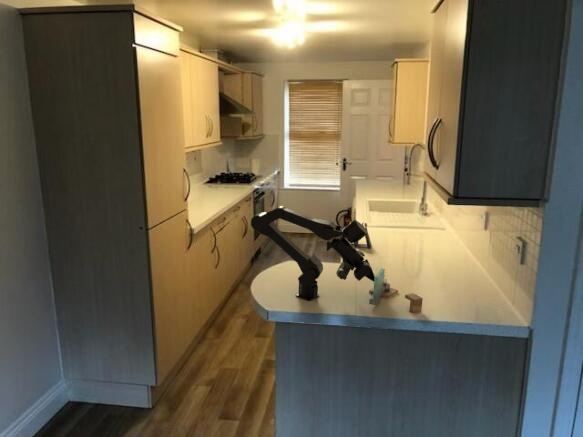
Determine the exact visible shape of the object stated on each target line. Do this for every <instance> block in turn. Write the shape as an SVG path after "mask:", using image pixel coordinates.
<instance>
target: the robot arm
mask: <svg viewBox="0 0 583 437" xmlns="http://www.w3.org/2000/svg"><path fill="white" fill-rule="evenodd" d="M279 219H280V220H284V221H286V222H288V223H291V224H293V225H296V226H298V227H301V228H303V229H307V230H308V231H310V232H312V233H313V234H314V235H315V236H317V237H319V239H322V240H323V241H325V242H326V243H325V245H326V251H331V249H333V251H335V252H336V254H338V256H340V258H341V260H342V261H341V263H340V265H339V267H338V268H337V270H336V276H337V278H339V279H340V280H344V281H345V280H347V278H348V275H349V274H350V272H351V271H353V276H354V278H355V279H357V281H359V282H360V281H361V280H362V279H364V278H367V279H369V280H370V281H372V282H373V283H374V277H375V273H374V272H373V268H372V266H371V264H370V262H369V260H368V259H365V258H364V257H366V255H365V253H364V252H363V251H362V250H357V249H356V247H354V245H352V244H353V243H357V242H358V241H359V242H360V240H362V239H363V238H365V236H366V235H367V234H369V231H368V229H367V230H366V228H365V226H364V224H363V225H362V223H361V222H359V221H358V220H357V219H356V218H355V219H353V220H352V221H351V222H350V223H349V224H347V225H346V226H342V225H338V224H336V223H335V222H334V221H332V220H327V219H320V218H315V217H311V216H308V215H305V214H304V213H300V212H297V211H295V210H293V209H290V208H287V207H286V206H284V205H279V206H277V207H276V208H274V209H272V210H268V211H267V212H265V211H263V212H259V213H257V214H255V215H254V216H253V217H251V220H250V226H251V228H252V229H253V230H254V231H256V232H257V233H259V234H261V235H263V236H265V237H268V238H269V239H270V240H271V241H272V242H273V243H275V244H276V245H277V246H278V247H279V248H280V249H281V250H282V251H283V252H284V253H285V254H287V255H288V257H289V258H291V259H292V260H293V261H294V262H295V263H296V264H297V266H298V267H299V270H300V272H301V274H300V275H299V276H298V278H297V280H298V293H297V294H295V297H298V298H300V299H303V300H306V301H309V302H310V301H312V300H314V299H316V298H319V296H320V294H319V293H318V292H319V285H318V280H317V279H319V278H320V276H321V274H322V273H323V271H324V265H323V263H322V262H321V261H322V260H321V259H319V258H318V257H317V256H316V254H315V253H312V254H311V255H309V254H307V253H306V252H304V251H303V250H302V249H301V248H300V247H299V246H297V245H296V244H295V242H293V241H292V240H291V239H290V238H289V237H288V236H287V235H286V234H284V232H282V231H281V230H280V229H279V228H278V227H277V225H276V222H275V221H277V220H279ZM367 231H368V232H367ZM359 242H358V243H359Z"/></svg>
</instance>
